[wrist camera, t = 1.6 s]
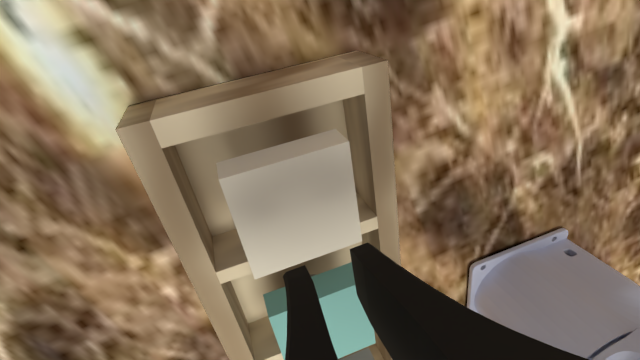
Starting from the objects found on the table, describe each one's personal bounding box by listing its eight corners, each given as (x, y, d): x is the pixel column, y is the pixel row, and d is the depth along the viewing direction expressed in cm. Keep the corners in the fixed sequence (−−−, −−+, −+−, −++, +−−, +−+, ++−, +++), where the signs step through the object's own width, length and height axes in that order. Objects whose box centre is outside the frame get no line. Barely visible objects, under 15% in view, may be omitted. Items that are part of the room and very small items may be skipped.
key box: (357, 50, 18) (388, 60, 15) (388, 344, 30) (408, 379, 27) (128, 106, 15) (115, 129, 13) (262, 398, 28) (269, 441, 25)
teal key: (343, 241, 20) (367, 280, 17) (353, 301, 22) (375, 342, 20) (257, 271, 19) (268, 317, 16) (278, 330, 21) (290, 378, 19)
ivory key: (322, 116, 16) (349, 141, 13) (337, 205, 19) (362, 241, 16) (213, 146, 15) (218, 179, 12) (245, 236, 18) (254, 279, 15)
